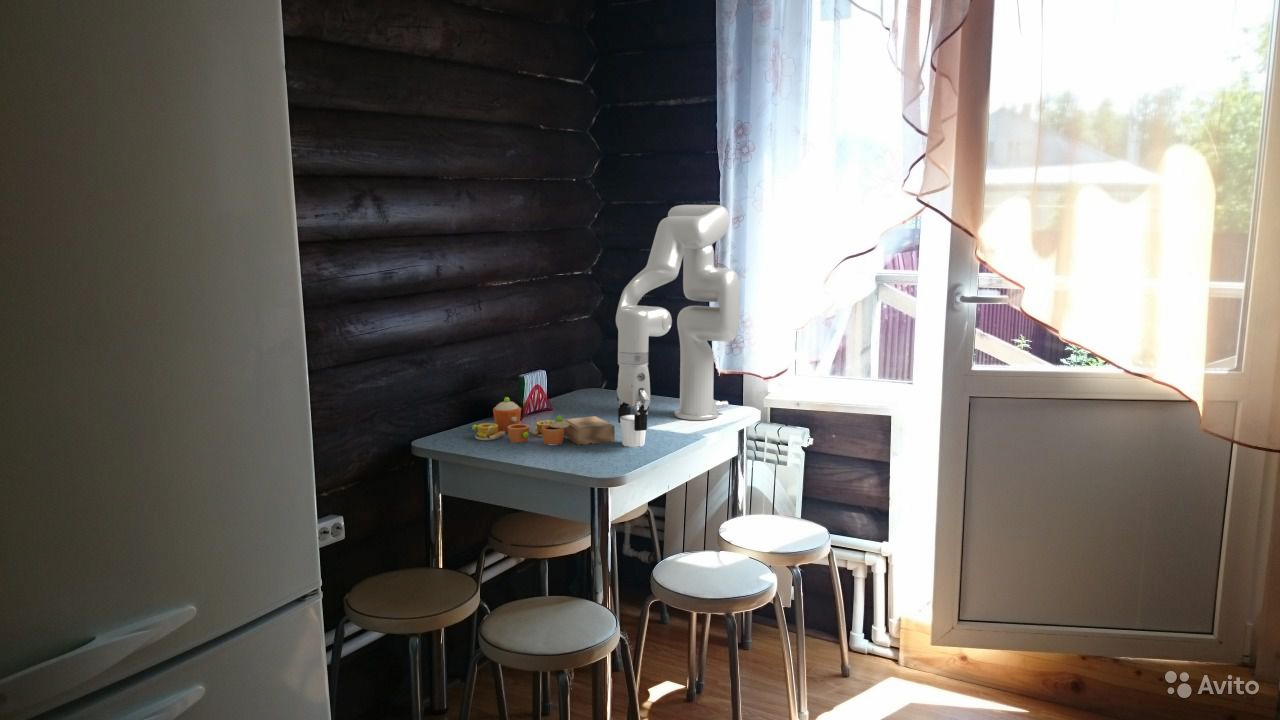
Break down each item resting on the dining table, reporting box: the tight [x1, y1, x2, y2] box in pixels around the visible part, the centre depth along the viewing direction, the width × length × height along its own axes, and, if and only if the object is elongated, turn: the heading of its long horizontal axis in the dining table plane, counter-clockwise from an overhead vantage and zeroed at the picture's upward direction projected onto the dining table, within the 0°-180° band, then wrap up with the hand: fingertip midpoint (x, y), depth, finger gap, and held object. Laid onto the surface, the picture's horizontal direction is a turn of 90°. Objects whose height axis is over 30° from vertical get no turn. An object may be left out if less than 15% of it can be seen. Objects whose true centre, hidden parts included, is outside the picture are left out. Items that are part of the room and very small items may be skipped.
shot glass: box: [619, 414, 647, 448], centre depth 230 cm, size 7×7×7 cm
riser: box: [562, 415, 616, 446], centre depth 237 cm, size 10×12×4 cm
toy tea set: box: [471, 396, 569, 445], centre depth 237 cm, size 26×16×10 cm, turn 72°
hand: (632, 426), depth 229 cm, fingers open, 9 cm apart
